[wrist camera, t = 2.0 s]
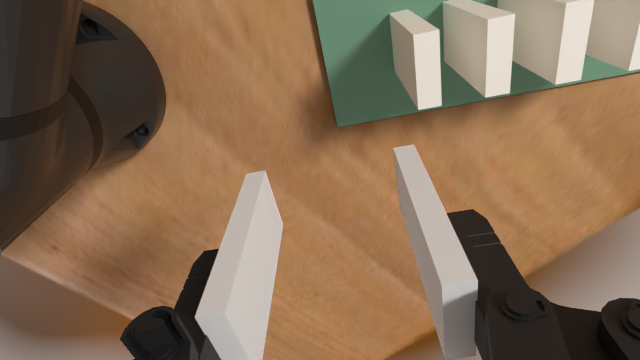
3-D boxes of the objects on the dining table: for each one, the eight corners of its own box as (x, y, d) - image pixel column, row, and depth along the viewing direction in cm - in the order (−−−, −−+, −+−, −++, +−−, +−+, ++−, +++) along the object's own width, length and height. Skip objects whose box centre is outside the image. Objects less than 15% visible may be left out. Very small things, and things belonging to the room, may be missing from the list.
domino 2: (444, 61, 33) (485, 97, 25) (442, 1, 31) (487, 19, 22) (462, 57, 33) (509, 93, 24) (462, -3, 30) (515, 13, 22)
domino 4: (548, 40, 32) (628, 71, 24) (555, -23, 30) (648, -15, 21) (567, 36, 32) (655, 66, 23) (576, -28, 29) (678, -21, 21)
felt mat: (337, 125, 37) (337, 127, 37) (307, -30, 30) (306, -30, 30) (703, 57, 33) (709, 58, 33) (769, -140, 26) (777, -142, 26)
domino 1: (394, 71, 34) (418, 110, 25) (389, 13, 31) (413, 35, 23) (412, 67, 33) (441, 105, 25) (408, 9, 31) (439, 29, 22)
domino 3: (495, 51, 33) (555, 84, 24) (498, -11, 30) (566, 3, 22) (513, 47, 32) (580, 79, 24) (518, -15, 30) (595, -4, 21)
